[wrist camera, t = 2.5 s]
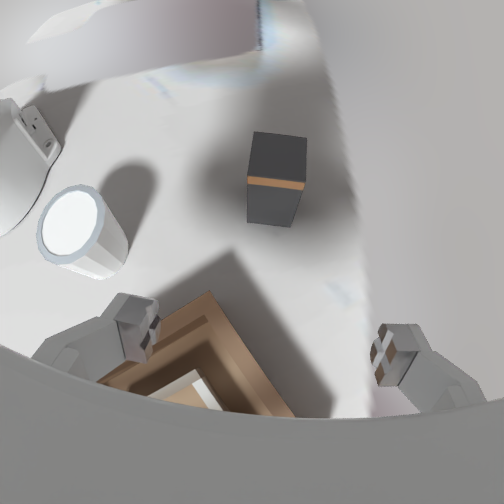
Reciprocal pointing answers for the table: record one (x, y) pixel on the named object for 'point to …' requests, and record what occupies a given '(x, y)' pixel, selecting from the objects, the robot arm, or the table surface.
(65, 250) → the white cup
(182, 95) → the table surface
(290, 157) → the dark grey banded block
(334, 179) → the table surface
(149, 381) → the walnut box
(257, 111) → the table surface
